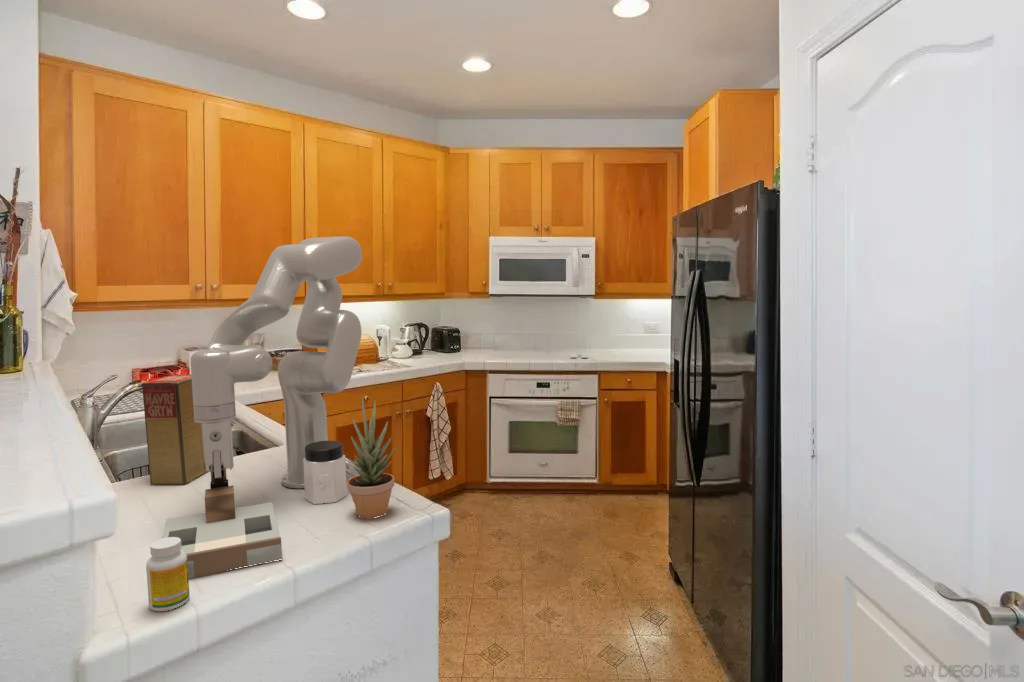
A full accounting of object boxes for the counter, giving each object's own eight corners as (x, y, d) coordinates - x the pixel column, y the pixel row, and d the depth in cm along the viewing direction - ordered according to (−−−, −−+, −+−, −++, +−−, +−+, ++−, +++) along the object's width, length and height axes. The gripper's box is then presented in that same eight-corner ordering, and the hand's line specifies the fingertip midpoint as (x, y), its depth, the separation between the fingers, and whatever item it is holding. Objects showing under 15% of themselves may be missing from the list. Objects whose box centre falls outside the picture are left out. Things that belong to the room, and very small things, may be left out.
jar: (303, 506, 129) (300, 452, 128) (307, 493, 137) (304, 442, 136) (346, 502, 131) (343, 448, 130) (347, 489, 139) (345, 439, 138)
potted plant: (374, 501, 131) (370, 390, 129) (404, 510, 126) (401, 395, 123) (336, 516, 123) (331, 398, 120) (368, 527, 118) (363, 403, 115)
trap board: (273, 516, 124) (272, 497, 123) (282, 560, 104) (280, 538, 103) (167, 533, 115) (166, 513, 115) (155, 585, 96) (153, 561, 95)
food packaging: (180, 468, 157) (173, 373, 154) (215, 468, 156) (209, 373, 154) (147, 485, 143) (139, 382, 141) (186, 485, 143) (178, 382, 140)
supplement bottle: (143, 605, 90) (138, 544, 89) (180, 590, 94) (175, 531, 93) (159, 616, 87) (154, 553, 86) (196, 600, 91) (192, 540, 90)
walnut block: (235, 509, 119) (233, 485, 119) (235, 518, 115) (233, 493, 114) (207, 514, 117) (205, 489, 117) (206, 523, 113) (204, 497, 112)
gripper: (235, 417, 114) (241, 509, 116) (235, 403, 128) (240, 486, 130) (191, 421, 111) (197, 516, 113) (195, 406, 125) (201, 492, 127)
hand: (220, 500), depth 121 cm, fingers closed
